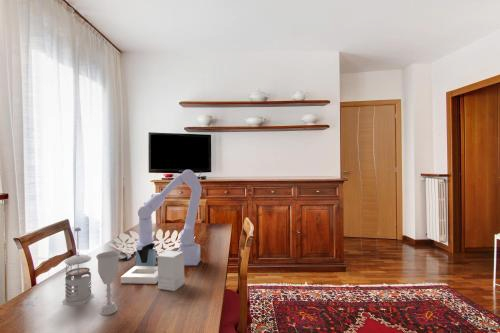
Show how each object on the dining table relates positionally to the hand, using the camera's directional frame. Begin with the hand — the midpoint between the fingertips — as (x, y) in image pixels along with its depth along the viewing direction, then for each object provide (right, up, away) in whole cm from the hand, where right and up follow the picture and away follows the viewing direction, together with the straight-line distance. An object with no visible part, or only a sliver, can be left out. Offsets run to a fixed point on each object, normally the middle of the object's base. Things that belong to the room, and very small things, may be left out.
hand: (146, 261), depth 132 cm
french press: (-13, -3, -31) cm, 34 cm away
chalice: (+3, -3, -40) cm, 40 cm away
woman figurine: (-13, -3, +15) cm, 20 cm away
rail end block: (0, -2, 0) cm, 2 cm away
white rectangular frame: (+4, -2, -13) cm, 14 cm away
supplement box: (+18, -3, -22) cm, 28 cm away
